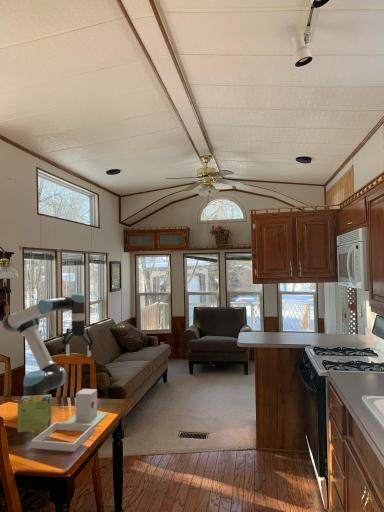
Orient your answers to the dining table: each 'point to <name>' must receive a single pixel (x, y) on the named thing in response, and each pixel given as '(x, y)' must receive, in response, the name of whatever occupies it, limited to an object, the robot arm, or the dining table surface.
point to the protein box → (34, 413)
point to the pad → (95, 421)
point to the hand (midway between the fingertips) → (78, 356)
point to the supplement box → (86, 405)
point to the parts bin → (62, 446)
